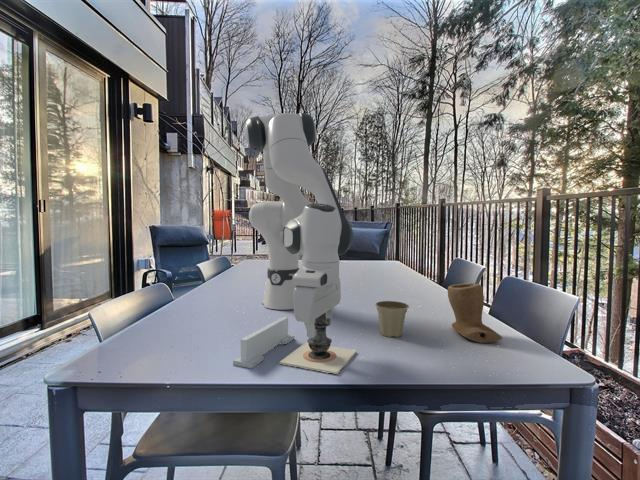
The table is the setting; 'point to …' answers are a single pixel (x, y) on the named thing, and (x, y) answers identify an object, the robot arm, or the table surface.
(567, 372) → the table surface
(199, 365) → the table surface
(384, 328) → the flower pot
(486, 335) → the brown boot
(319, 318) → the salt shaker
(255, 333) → the acrylic wall
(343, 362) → the mat
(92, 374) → the table surface
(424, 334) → the table surface
